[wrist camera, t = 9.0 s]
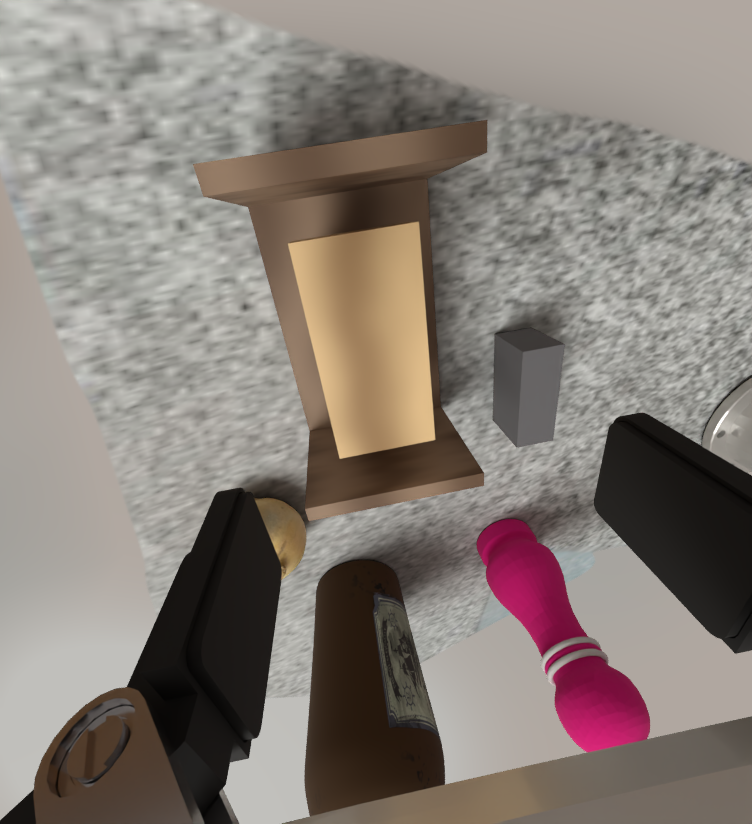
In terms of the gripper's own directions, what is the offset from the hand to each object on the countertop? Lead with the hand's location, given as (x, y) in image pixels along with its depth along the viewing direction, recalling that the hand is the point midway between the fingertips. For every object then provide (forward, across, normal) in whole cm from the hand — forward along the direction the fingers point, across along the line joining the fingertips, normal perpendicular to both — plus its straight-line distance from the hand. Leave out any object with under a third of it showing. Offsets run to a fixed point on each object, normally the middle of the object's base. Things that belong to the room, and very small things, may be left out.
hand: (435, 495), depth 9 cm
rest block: (+20, -11, +7) cm, 24 cm away
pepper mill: (+20, -11, +27) cm, 35 cm away
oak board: (+13, 0, 0) cm, 13 cm away
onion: (+20, +13, +17) cm, 29 cm away
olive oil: (+20, +6, +30) cm, 36 cm away
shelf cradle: (+19, +1, 0) cm, 19 cm away
